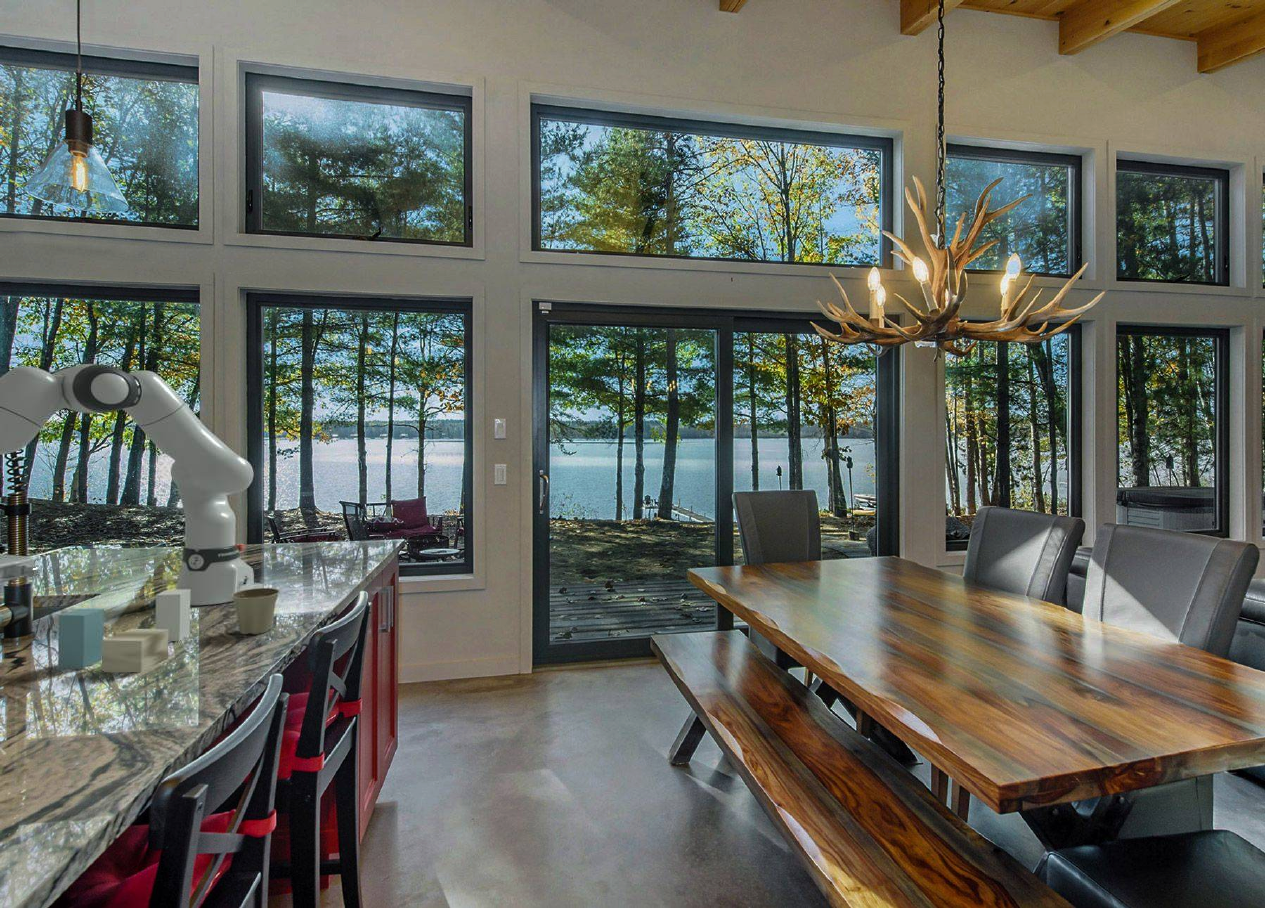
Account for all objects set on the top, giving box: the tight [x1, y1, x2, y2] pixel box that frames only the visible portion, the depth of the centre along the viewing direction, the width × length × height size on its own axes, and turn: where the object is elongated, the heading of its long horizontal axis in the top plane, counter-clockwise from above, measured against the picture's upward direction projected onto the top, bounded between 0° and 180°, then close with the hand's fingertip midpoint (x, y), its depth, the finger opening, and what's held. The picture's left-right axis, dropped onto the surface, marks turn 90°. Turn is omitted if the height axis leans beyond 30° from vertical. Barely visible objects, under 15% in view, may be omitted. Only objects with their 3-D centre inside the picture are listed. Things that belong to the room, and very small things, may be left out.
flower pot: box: [231, 587, 281, 635], centre depth 140 cm, size 9×9×9 cm
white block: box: [154, 589, 191, 642], centre depth 133 cm, size 4×4×10 cm
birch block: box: [101, 628, 169, 673], centre depth 117 cm, size 7×7×6 cm
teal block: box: [57, 608, 105, 670], centre depth 117 cm, size 4×4×10 cm
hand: (14, 577), depth 116 cm, fingers open, 8 cm apart
